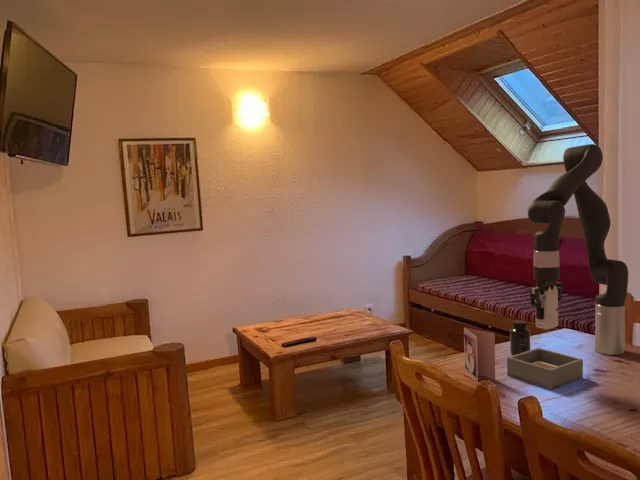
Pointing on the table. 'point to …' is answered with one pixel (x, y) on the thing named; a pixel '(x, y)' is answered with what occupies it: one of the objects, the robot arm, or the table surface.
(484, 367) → the greeting card
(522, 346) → the supplement bottle
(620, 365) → the table surface
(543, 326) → the skincare box
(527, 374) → the crate
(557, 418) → the table surface
